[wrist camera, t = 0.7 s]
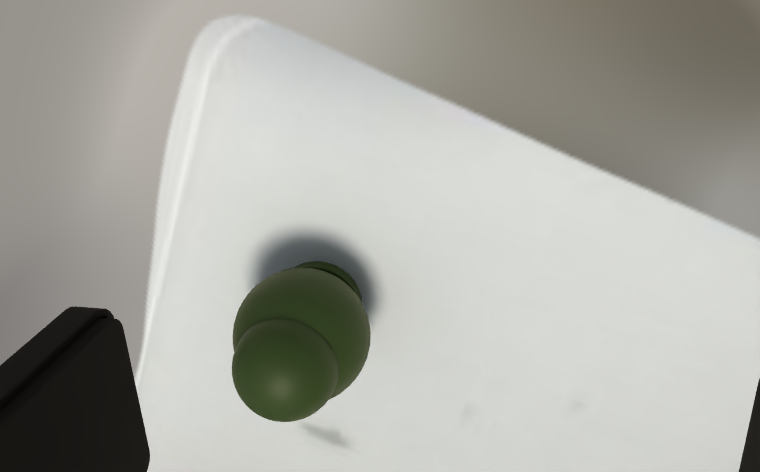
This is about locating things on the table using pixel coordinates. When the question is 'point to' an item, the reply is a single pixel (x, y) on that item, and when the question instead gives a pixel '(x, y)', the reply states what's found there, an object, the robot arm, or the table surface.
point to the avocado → (299, 341)
